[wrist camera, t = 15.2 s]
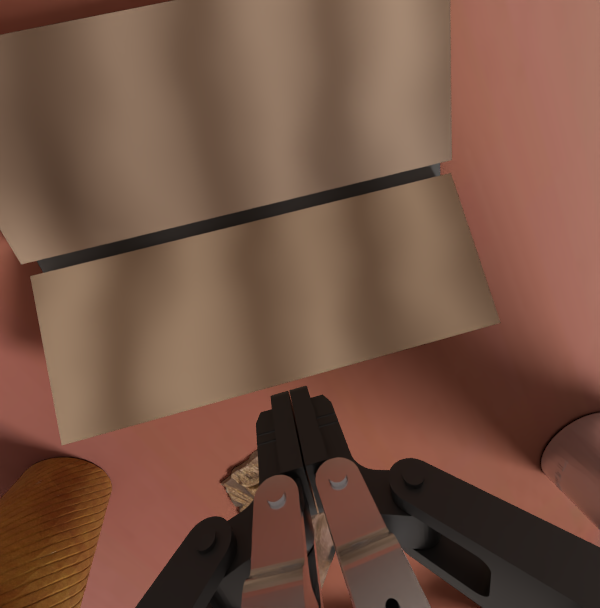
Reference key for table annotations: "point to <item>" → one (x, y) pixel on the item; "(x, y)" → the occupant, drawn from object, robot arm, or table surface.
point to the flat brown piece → (242, 494)
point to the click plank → (257, 305)
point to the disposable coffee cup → (51, 533)
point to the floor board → (213, 118)
